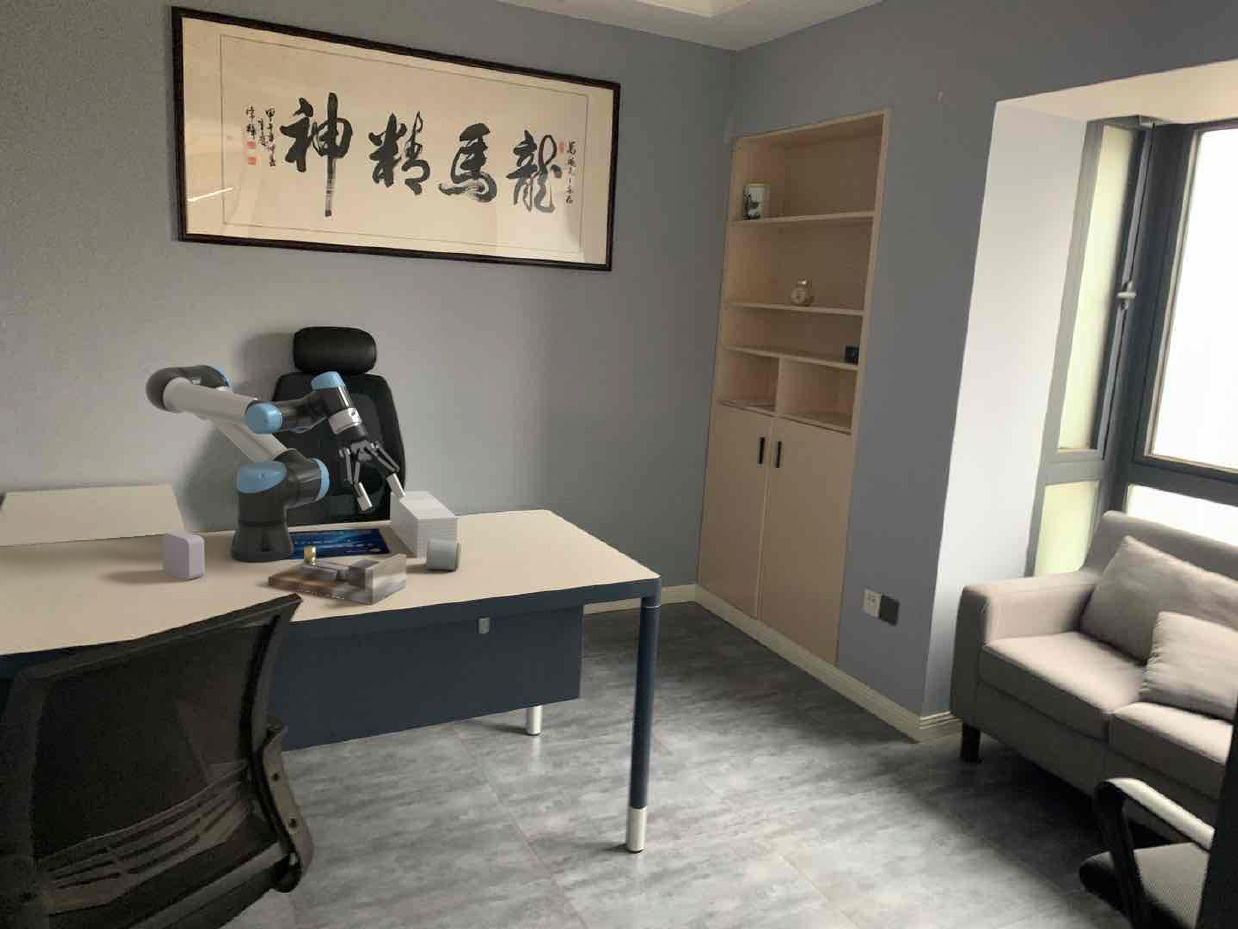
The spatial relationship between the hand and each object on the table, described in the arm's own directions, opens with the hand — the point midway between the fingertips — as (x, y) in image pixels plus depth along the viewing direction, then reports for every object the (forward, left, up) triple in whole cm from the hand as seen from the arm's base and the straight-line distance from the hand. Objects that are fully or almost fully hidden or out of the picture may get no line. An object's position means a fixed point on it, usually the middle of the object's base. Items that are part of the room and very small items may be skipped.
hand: (384, 503), depth 234 cm
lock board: (+2, -23, -15) cm, 28 cm away
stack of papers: (-1, +21, -16) cm, 26 cm away
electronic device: (-33, -33, -15) cm, 49 cm away
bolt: (-1, -23, -13) cm, 26 cm away
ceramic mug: (+16, +2, -15) cm, 22 cm away
